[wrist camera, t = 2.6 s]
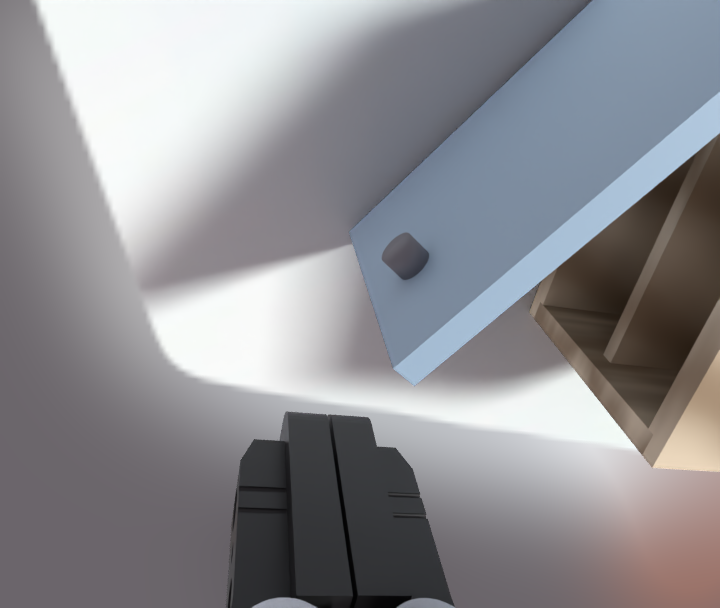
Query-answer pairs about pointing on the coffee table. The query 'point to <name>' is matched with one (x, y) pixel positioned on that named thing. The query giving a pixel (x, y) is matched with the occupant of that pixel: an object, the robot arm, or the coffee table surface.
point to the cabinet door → (539, 172)
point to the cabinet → (650, 316)
